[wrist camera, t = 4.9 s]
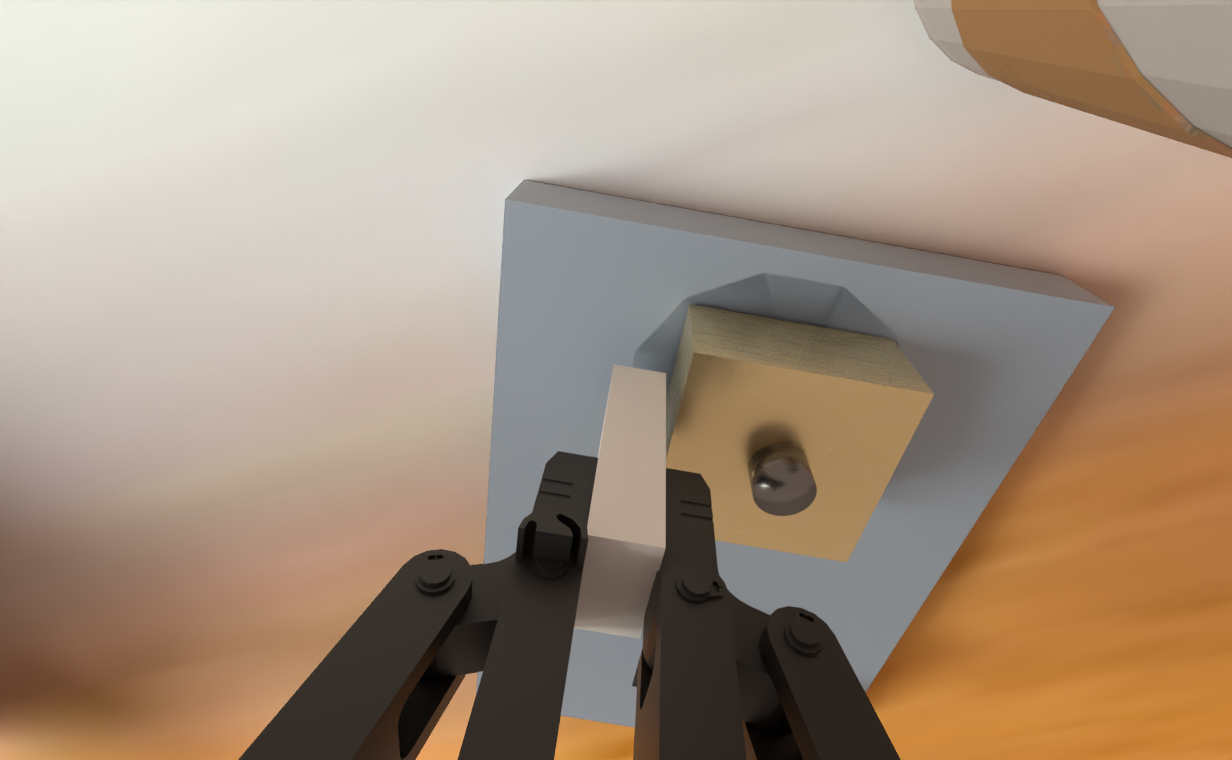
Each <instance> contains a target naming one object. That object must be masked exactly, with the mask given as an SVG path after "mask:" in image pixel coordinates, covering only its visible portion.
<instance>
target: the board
mask: <svg viewBox="0 0 1232 760" xmlns="http://www.w3.org/2000/svg"><path fill="white" fill-rule="evenodd" d="M689 304H692V305H698V306H704V307H710V308H715V309H721V310H727V311H732V312H738V313H744V314H750V315H755V316H761V317H767V318H772V319H778V320H784V321H790V322H795V323H801V324H807V325H813V326H818V327H824V328H830V329H835V330H841V331H847V332H853V333H858V334H864V335H870V336H875V337H881V338H887V339H893V340H894V341H895V343H896V344H897V345H898V347H899V348H900V349H901V351H902V352H903V353H904V355H905V356H906V357H907V359H908V360H909V361H910V363H911V364H912V365H913V367H914V368H915V369H916V371H917V372H918V373H919V375H920V376H921V377H922V379H923V380H924V381H925V383H926V384H927V385H928V387H929V388H930V389H931V391H932V392H933V393H934V396H933V398H932V399H931V401H930V403H929V405H928V407H927V409H926V411H925V413H924V415H923V417H922V419H921V421H920V423H919V425H918V426H917V428H916V430H915V432H914V434H913V436H912V438H911V440H910V442H909V444H908V446H907V448H906V450H905V452H904V454H903V455H902V457H901V459H900V461H899V463H898V465H897V467H896V469H895V471H894V473H893V475H892V477H891V479H890V481H889V482H888V484H887V486H886V488H885V490H884V492H883V494H882V496H881V498H880V500H879V502H878V504H877V506H876V508H875V509H874V511H873V513H872V515H871V517H870V519H869V521H868V523H867V525H866V527H865V529H864V531H863V533H862V535H861V537H860V538H859V540H858V542H857V544H856V546H855V548H854V550H853V552H852V554H851V556H850V558H849V560H848V562H842V561H836V560H830V559H824V558H818V557H812V556H806V555H800V554H794V553H788V552H782V551H776V550H770V549H764V548H758V547H752V546H746V545H740V544H734V543H728V542H722V541H716V540H715V544H716V555H717V565H718V571H719V576H720V577H721V578H722V580H723V581H724V582H725V584H726V587H727V589H728V590H729V591H730V593H731V594H733V595H734V596H735V597H736V598H738V599H739V600H740V601H742V602H744V603H746V604H747V605H749V606H751V607H754V608H756V609H758V610H760V611H762V612H764V613H767V614H769V615H771V614H772V613H773V612H774V611H775V610H776V609H778V608H782V607H786V606H792V607H799V608H803V609H805V610H807V611H810V612H812V613H814V614H815V615H817V616H818V617H819V618H820V619H822V620H823V621H824V622H825V623H827V625H828V626H829V628H830V629H831V630H832V632H833V633H834V634H835V636H836V638H837V640H838V642H839V644H840V645H841V647H842V649H843V651H844V653H845V655H846V657H847V659H848V661H849V663H850V664H851V666H852V668H853V670H854V672H855V674H856V676H857V678H858V680H859V682H860V683H861V685H862V687H863V689H864V691H865V692H866V691H867V689H868V688H869V686H870V685H871V683H872V682H873V680H874V678H875V677H876V675H877V674H878V672H879V671H880V669H881V668H882V666H883V665H884V663H885V662H886V660H887V658H888V657H889V655H890V654H891V652H892V651H893V649H894V648H895V646H896V645H897V643H898V641H899V640H900V638H901V637H902V635H903V634H904V632H905V631H906V629H907V628H908V626H909V624H910V623H911V621H912V620H913V618H914V617H915V615H916V614H917V612H918V611H919V609H920V607H921V606H922V604H923V603H924V601H925V600H926V598H927V597H928V595H929V594H930V592H931V591H932V589H933V587H934V586H935V584H936V583H937V581H938V580H939V578H940V577H941V575H942V574H943V572H944V570H945V569H946V567H947V566H948V564H949V563H950V561H951V560H952V558H953V557H954V555H955V553H956V552H957V550H958V549H959V547H960V546H961V544H962V543H963V541H964V540H965V538H966V536H967V535H968V533H969V532H970V530H971V529H972V527H973V526H974V524H975V523H976V521H977V520H978V518H979V516H980V515H981V513H982V512H983V510H984V509H985V507H986V506H987V504H988V503H989V501H990V499H991V498H992V496H993V495H994V493H995V492H996V490H997V489H998V487H999V486H1000V484H1001V482H1002V481H1003V479H1004V478H1005V476H1006V475H1007V473H1008V472H1009V470H1010V469H1011V467H1012V465H1013V464H1014V462H1015V461H1016V459H1017V458H1018V456H1019V455H1020V453H1021V452H1022V450H1023V449H1024V447H1025V445H1026V444H1027V442H1028V441H1029V439H1030V438H1031V436H1032V435H1033V433H1034V432H1035V430H1036V428H1037V427H1038V425H1039V424H1040V422H1041V421H1042V419H1043V418H1044V416H1045V415H1046V413H1047V411H1048V410H1049V408H1050V407H1051V405H1052V404H1053V402H1054V401H1055V399H1056V398H1057V396H1058V394H1059V393H1060V391H1061V390H1062V388H1063V387H1064V385H1065V384H1066V382H1067V381H1068V379H1069V377H1070V376H1071V374H1072V373H1073V371H1074V370H1075V368H1076V367H1077V365H1078V364H1079V362H1080V361H1081V359H1082V357H1083V356H1084V354H1085V353H1086V351H1087V350H1088V348H1089V347H1090V345H1091V344H1092V342H1093V340H1094V339H1095V337H1096V336H1097V334H1098V333H1099V331H1100V330H1101V328H1102V327H1103V325H1104V323H1105V322H1106V320H1107V319H1108V317H1109V316H1110V314H1111V313H1112V311H1113V310H1114V308H1115V307H1114V306H1112V305H1110V304H1109V303H1107V302H1105V301H1104V300H1102V299H1100V298H1099V297H1097V296H1095V295H1094V294H1092V293H1090V292H1089V291H1087V290H1085V289H1084V288H1082V287H1080V286H1079V285H1077V284H1075V283H1074V282H1072V281H1070V280H1069V279H1067V278H1065V277H1064V276H1062V275H1057V274H1051V273H1045V272H1040V271H1034V270H1029V269H1023V268H1017V267H1012V266H1006V265H1000V264H995V263H989V262H984V261H978V260H972V259H967V258H961V257H955V256H950V255H944V254H939V253H933V252H927V251H922V250H916V249H910V248H905V247H899V246H894V245H888V244H882V243H877V242H871V241H865V240H860V239H854V238H849V237H843V236H837V235H832V234H826V233H821V232H815V231H809V230H804V229H798V228H792V227H787V226H781V225H776V224H770V223H764V222H759V221H753V220H747V219H742V218H736V217H731V216H725V215H719V214H714V213H708V212H702V211H697V210H691V209H686V208H680V207H674V206H669V205H663V204H657V203H652V202H646V201H641V200H635V199H629V198H624V197H618V196H613V195H607V194H601V193H596V192H590V191H584V190H579V189H573V188H568V187H562V186H556V185H551V184H545V183H539V182H534V181H528V180H524V181H523V182H522V183H521V184H520V185H519V186H518V187H517V188H516V189H515V190H514V191H513V192H512V193H511V194H510V195H509V196H508V197H507V198H506V199H505V212H504V229H503V246H502V263H501V281H500V298H499V315H498V332H497V349H496V366H495V383H494V400H493V418H492V435H491V452H490V469H489V486H488V503H487V520H486V538H485V555H484V564H487V563H493V562H497V561H500V560H503V559H505V558H507V557H509V556H511V555H512V554H513V553H515V552H516V546H517V535H518V527H519V526H520V524H521V522H522V520H523V519H524V518H525V517H527V516H528V515H529V514H531V513H532V511H533V507H534V504H535V500H536V497H537V494H538V490H539V486H540V483H541V480H542V476H543V472H544V469H545V465H546V463H547V462H548V461H549V460H550V459H551V458H552V457H553V456H554V455H555V454H556V453H557V452H558V451H561V452H567V453H573V454H579V455H585V456H591V457H597V458H598V452H599V446H600V440H601V435H602V429H603V423H604V417H605V412H606V406H607V400H608V395H609V389H610V383H611V377H612V372H613V366H614V364H615V365H621V366H627V367H633V368H638V369H644V370H650V371H656V372H662V373H666V399H667V394H668V390H669V386H670V382H671V378H672V374H673V369H674V365H675V361H676V357H677V353H678V349H679V344H680V340H681V336H682V332H683V328H684V323H685V319H686V315H687V311H688V307H689ZM642 648H643V631H642V634H641V638H640V639H637V638H631V637H625V636H619V635H613V634H607V633H601V632H595V631H589V630H583V629H577V628H575V629H574V631H573V638H572V644H571V651H570V657H569V664H568V670H567V677H566V683H565V690H564V696H563V703H562V709H561V716H567V717H573V718H580V719H586V720H592V721H598V722H604V723H611V724H617V725H623V726H629V727H635V716H636V696H637V687H634V686H632V683H633V680H634V676H635V672H636V669H637V665H638V662H639V658H640V655H641V651H642ZM482 673H483V671H482V672H478V675H477V691H478V687H479V684H480V680H481V677H482ZM476 694H477V692H476Z"/></svg>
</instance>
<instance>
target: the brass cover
mask: <svg viewBox="0 0 1232 760" xmlns="http://www.w3.org/2000/svg"><path fill="white" fill-rule="evenodd" d="M933 396H934V393H933V392H932V391H931V389H930V388H929V387H928V385H927V384H926V383H925V381H924V380H923V379H922V377H921V376H920V375H919V373H918V372H917V371H916V369H915V368H914V367H913V365H912V364H911V363H910V361H909V360H908V359H907V357H906V356H905V355H904V353H903V352H902V351H901V349H900V348H899V347H898V345H897V344H896V343H895V341H894V340H893V339H887V338H881V337H875V336H870V335H864V334H858V333H853V332H847V331H841V330H835V329H830V328H824V327H818V326H813V325H807V324H801V323H795V322H790V321H784V320H778V319H772V318H767V317H761V316H755V315H750V314H744V313H738V312H732V311H727V310H721V309H715V308H710V307H704V306H698V305H692V304H689V307H688V311H687V315H686V319H685V323H684V328H683V332H682V336H681V340H680V344H679V349H678V353H677V357H676V361H675V365H674V369H673V374H672V378H671V382H670V386H669V390H668V394H667V399H666V468H670V469H675V470H681V471H687V472H693V473H699V474H701V475H702V477H703V478H704V480H705V482H706V483H707V485H708V486H709V488H710V492H711V502H712V507H711V508H712V513H713V523H714V534H715V540H716V541H722V542H728V543H734V544H740V545H746V546H752V547H758V548H764V549H770V550H776V551H782V552H788V553H794V554H800V555H806V556H812V557H818V558H824V559H830V560H836V561H842V562H848V560H849V558H850V556H851V554H852V552H853V550H854V548H855V546H856V544H857V542H858V540H859V538H860V537H861V535H862V533H863V531H864V529H865V527H866V525H867V523H868V521H869V519H870V517H871V515H872V513H873V511H874V509H875V508H876V506H877V504H878V502H879V500H880V498H881V496H882V494H883V492H884V490H885V488H886V486H887V484H888V482H889V481H890V479H891V477H892V475H893V473H894V471H895V469H896V467H897V465H898V463H899V461H900V459H901V457H902V455H903V454H904V452H905V450H906V448H907V446H908V444H909V442H910V440H911V438H912V436H913V434H914V432H915V430H916V428H917V426H918V425H919V423H920V421H921V419H922V417H923V415H924V413H925V411H926V409H927V407H928V405H929V403H930V401H931V399H932V398H933Z"/></svg>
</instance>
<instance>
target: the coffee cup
mask: <svg viewBox="0 0 1232 760" xmlns="http://www.w3.org/2000/svg"><path fill="white" fill-rule="evenodd" d="M914 2H915V8H916V10H917V12H918V15H919V17H920V19H921V21H922V23H923V25H924V27H925V29H926V31H927V34H928V36H929V38H930V39H931V40H932V41H933V42H934V43H935V44H936V45H937V46H938V47H939V48H940V49H941V50H942V51H943V52H944V54H945V55H946V56H947V57H948V58H949V59H950V60H951V61H953V62H955V63H957V64H959V65H961V66H963V67H965V68H967V69H969V70H971V71H973V72H974V73H976V74H978V75H982V76H985V77H988V78H992V79H995V80H998V81H1001V82H1003V83H1005V84H1007V85H1009V86H1011V87H1013V88H1015V89H1017V90H1020V91H1022V92H1024V93H1027V94H1030V95H1033V96H1036V97H1040V98H1043V99H1046V100H1049V101H1052V102H1056V103H1059V104H1062V105H1065V106H1068V107H1071V108H1075V109H1078V110H1081V111H1084V112H1087V113H1091V114H1094V115H1097V116H1100V117H1103V118H1106V119H1110V120H1113V121H1116V122H1119V123H1122V124H1126V125H1129V126H1132V127H1135V128H1138V129H1142V130H1145V131H1148V132H1151V133H1154V134H1157V135H1161V136H1164V137H1167V138H1170V139H1173V140H1177V141H1180V142H1183V143H1186V144H1189V145H1192V146H1196V147H1199V148H1202V149H1205V150H1208V151H1212V152H1215V153H1218V154H1221V155H1224V156H1227V157H1231V158H1232V0H914Z"/></svg>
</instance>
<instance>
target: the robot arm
mask: <svg viewBox="0 0 1232 760" xmlns="http://www.w3.org/2000/svg"><path fill="white" fill-rule="evenodd" d="M711 507H712V502H711V492H710V488H709V486H708V485H707V483H706V482H705V480H704V478H703V477H702V475H701V474H699V473H693V472H687V471H681V470H675V469H670V468H666V373H662V372H656V371H650V370H644V369H638V368H633V367H627V366H621V365H615V364H614V366H613V372H612V377H611V383H610V389H609V395H608V400H607V406H606V412H605V417H604V423H603V429H602V435H601V440H600V446H599V452H598V458H597V457H591V456H585V455H579V454H573V453H567V452H561V451H558V452H557V453H556V454H555V455H554V456H553V457H552V458H551V459H550V460H549V461H548V462H547V463H546V465H545V469H544V472H543V476H542V480H541V483H540V486H539V490H538V494H537V497H536V500H535V504H534V507H533V511H532V513H531V514H529V515H528V516H527V517H525V518H524V519H523V520H522V522H521V524H520V526H519V527H518V535H517V546H516V552H515V553H513V554H512V555H511V556H509V557H507V558H505V559H503V560H500V561H497V562H493V563H487V564H478V565H469V563H468V562H467V560H466V559H465V558H464V557H462V556H461V555H459V554H457V553H456V552H452V551H447V550H442V549H440V550H430V551H426V552H423V553H421V554H418V555H416V556H414V557H413V558H411V559H410V560H409V561H408V562H407V563H405V564H404V565H403V566H402V568H401V569H400V570H399V571H398V572H397V573H396V575H395V576H394V577H393V578H392V579H391V581H390V582H389V583H388V584H387V585H386V586H385V588H384V589H383V590H382V591H381V592H380V594H379V595H378V596H377V597H376V598H375V599H374V601H373V602H372V603H371V604H370V605H369V606H368V608H367V609H366V610H365V611H364V612H363V614H362V615H361V616H360V617H359V618H358V619H357V621H356V622H355V623H354V624H353V625H352V626H351V628H350V629H349V630H348V631H347V632H346V634H345V635H344V636H343V637H342V638H341V639H340V641H339V642H338V643H337V644H336V645H335V647H334V648H333V649H332V650H331V651H330V652H329V654H328V655H327V656H326V657H325V658H324V659H323V661H322V662H321V663H320V664H319V665H318V667H317V668H316V669H315V670H314V671H313V672H312V674H311V675H310V676H309V677H308V678H307V679H306V681H305V682H304V683H303V684H302V685H301V687H300V688H299V689H298V690H297V691H296V692H295V694H294V695H293V696H292V697H291V698H290V700H289V701H288V702H287V703H286V704H285V705H284V707H283V708H282V709H281V710H280V711H279V712H278V714H277V715H276V716H275V717H274V718H273V720H272V721H271V722H270V723H269V724H268V725H267V727H266V728H265V729H264V730H263V731H262V732H261V734H260V735H259V736H258V737H257V738H256V740H255V741H254V742H253V743H252V744H251V745H250V747H249V748H248V749H247V750H246V751H245V753H244V754H243V755H242V756H241V757H240V758H239V760H415V759H416V758H417V756H418V754H419V753H420V751H421V749H422V748H423V746H424V744H425V743H426V741H427V739H428V737H429V736H430V734H431V732H432V731H433V729H434V727H435V726H436V724H437V722H438V721H439V719H440V717H441V716H442V714H443V712H444V711H445V709H446V707H447V706H448V704H449V702H450V700H451V699H452V697H453V695H454V694H455V692H456V690H457V689H458V687H459V685H460V684H461V682H462V680H463V679H464V677H465V675H466V674H469V673H475V672H482V671H483V673H482V677H481V680H480V684H479V687H478V691H477V694H476V698H475V701H474V705H473V708H472V712H471V715H470V719H469V722H468V726H467V729H466V733H465V736H464V740H463V743H462V747H461V750H460V754H459V757H458V760H554V755H555V748H556V742H557V735H558V729H559V722H560V716H561V709H562V703H563V696H564V690H565V683H566V677H567V670H568V664H569V657H570V651H571V644H572V638H573V631H574V628H577V629H583V630H589V631H595V632H601V633H607V634H613V635H619V636H625V637H631V638H637V639H640V638H641V634H642V631H643V648H642V651H641V655H640V658H639V662H638V665H637V669H636V672H635V676H634V680H633V683H632V686H634V687H637V696H636V716H635V736H634V757H633V760H900V758H899V756H898V754H897V752H896V750H895V748H894V746H893V744H892V742H891V741H890V739H889V737H888V735H887V733H886V731H885V729H884V727H883V725H882V723H881V722H880V720H879V718H878V716H877V714H876V712H875V710H874V708H873V706H872V704H871V702H870V701H869V699H868V697H867V695H866V693H865V691H864V689H863V687H862V685H861V683H860V682H859V680H858V678H857V676H856V674H855V672H854V670H853V668H852V666H851V664H850V663H849V661H848V659H847V657H846V655H845V653H844V651H843V649H842V647H841V645H840V644H839V642H838V640H837V638H836V636H835V634H834V633H833V632H832V630H831V629H830V628H829V626H828V625H827V623H825V622H824V621H823V620H822V619H820V618H819V617H818V616H817V615H815V614H814V613H812V612H810V611H807V610H805V609H803V608H799V607H792V606H786V607H782V608H778V609H776V610H775V611H774V612H773V613H772V614H771V615H769V614H767V613H764V612H762V611H760V610H758V609H756V608H754V607H751V606H749V605H747V604H746V603H744V602H742V601H740V600H739V599H738V598H736V597H735V596H734V595H733V594H731V593H730V591H729V590H728V589H727V587H726V584H725V582H724V581H723V580H722V578H721V577H720V576H719V571H718V565H717V555H716V544H715V534H714V523H713V513H712V508H711Z"/></svg>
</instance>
